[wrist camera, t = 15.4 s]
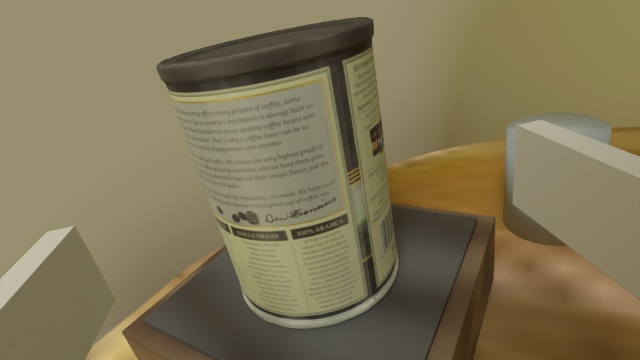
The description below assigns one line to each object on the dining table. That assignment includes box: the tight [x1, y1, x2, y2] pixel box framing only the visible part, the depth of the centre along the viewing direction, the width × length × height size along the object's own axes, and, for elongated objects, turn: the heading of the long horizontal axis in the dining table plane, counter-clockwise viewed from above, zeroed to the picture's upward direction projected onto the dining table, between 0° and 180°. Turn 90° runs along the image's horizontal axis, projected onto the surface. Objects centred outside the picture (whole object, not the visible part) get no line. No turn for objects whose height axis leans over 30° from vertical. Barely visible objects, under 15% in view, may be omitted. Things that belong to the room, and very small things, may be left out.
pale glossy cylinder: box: [503, 113, 612, 246], centre depth 31 cm, size 7×7×9 cm
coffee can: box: [157, 17, 399, 329], centre depth 21 cm, size 10×10×14 cm
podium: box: [122, 204, 495, 360], centre depth 25 cm, size 18×18×6 cm
